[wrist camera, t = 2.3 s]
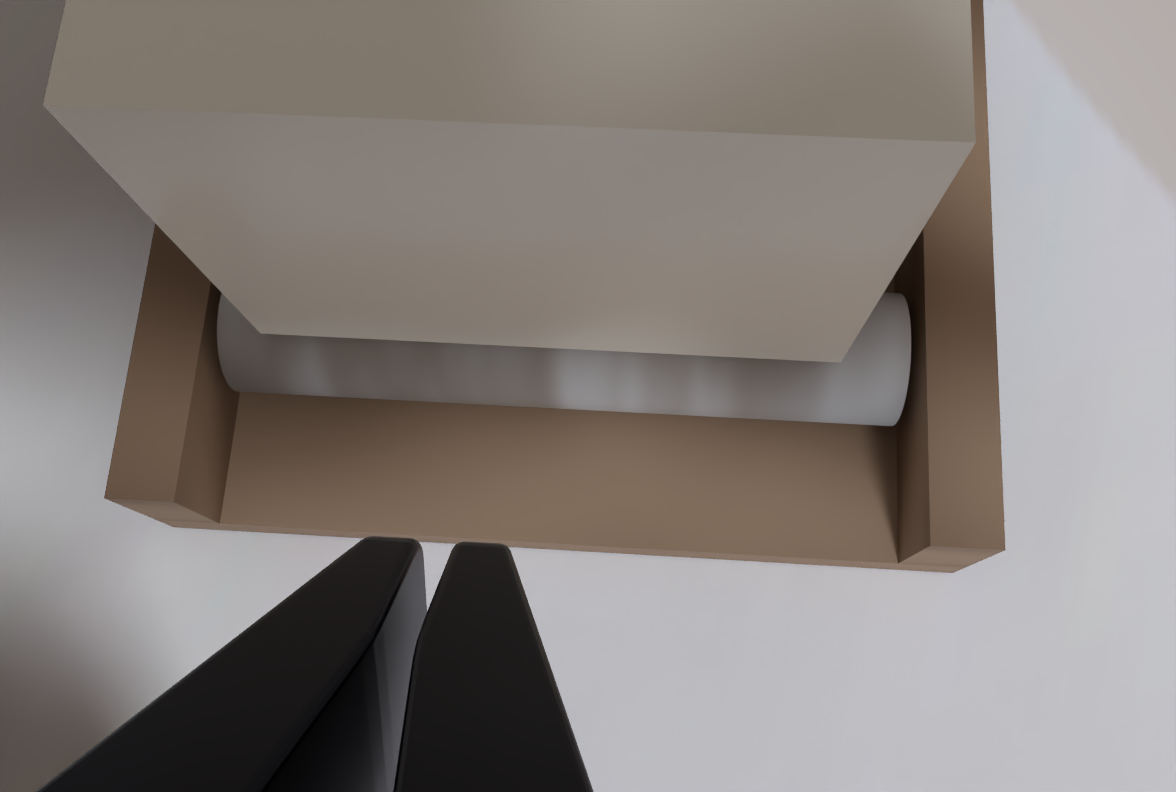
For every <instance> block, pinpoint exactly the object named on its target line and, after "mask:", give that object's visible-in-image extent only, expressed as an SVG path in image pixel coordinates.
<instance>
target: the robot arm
mask: <svg viewBox="0 0 1176 792" xmlns="http://www.w3.org/2000/svg"><path fill="white" fill-rule="evenodd" d="M36 792H593V789H592V786H591V783H590V780H589V777H588V774H587V771H586V769H585V766H584V763H583V760H582V757H581V754H580V751H579V748H578V745H577V742H576V739H575V737H574V734H573V731H572V728H571V725H570V722H569V719H568V716H567V713H566V710H565V708H564V705H563V702H562V699H561V696H560V693H559V690H558V687H557V684H556V681H555V679H554V676H553V673H552V670H551V667H550V664H549V661H548V658H547V655H546V652H545V649H544V647H543V644H542V641H541V638H540V635H539V632H538V629H537V626H536V623H535V620H534V618H533V615H532V612H531V609H530V606H529V603H528V600H527V597H526V594H525V591H524V589H523V586H522V583H521V580H520V577H519V574H518V571H517V568H516V565H515V562H514V559H513V557H512V554H511V551H510V549H509V548H508V547H507V546H506V545H504V544H501V543H484V542H466V541H464V542H460V543H458V544H456V545H455V546H454V548H453V549H452V551H451V554H450V556H449V559H448V561H447V564H446V566H445V569H444V571H443V574H442V576H441V579H440V581H439V584H438V586H437V589H436V591H435V594H434V596H433V599H432V601H431V604H430V606H429V609H428V611H427V605H426V589H425V573H424V558H423V551H422V547H421V545H420V544H419V542H418V541H417V540H415V539H412V538H399V537H383V536H369V537H367V538H365V539H363V540H361V541H360V542H358V543H357V544H356V545H355V546H353V547H352V548H351V549H349V550H348V551H347V552H345V553H344V554H343V555H342V556H340V557H339V558H338V559H336V560H335V561H334V562H333V563H331V564H330V565H329V566H327V567H326V568H325V569H323V570H322V571H321V572H320V573H318V574H317V575H316V576H314V577H313V578H312V579H311V580H309V581H308V582H307V583H305V584H304V585H303V586H301V587H300V588H299V589H298V590H296V591H295V592H294V593H292V594H291V595H290V596H289V597H287V598H286V599H285V600H283V601H282V602H281V603H279V604H278V605H277V606H276V607H274V608H273V609H272V610H270V611H269V612H268V613H267V614H265V615H264V616H263V617H261V618H260V619H259V620H257V621H256V622H255V623H254V624H252V625H251V626H250V627H248V628H247V629H246V630H245V631H243V632H242V633H241V634H239V635H238V636H237V637H235V638H234V639H233V640H232V641H230V642H229V643H228V644H226V645H225V646H224V647H223V648H221V649H220V650H219V651H217V652H216V653H215V654H213V655H212V656H211V657H210V658H208V659H207V660H206V661H204V662H203V663H202V664H201V665H199V666H198V667H197V668H195V669H194V670H193V671H191V672H190V673H189V674H188V675H186V676H185V677H184V678H182V679H181V680H180V681H179V682H177V683H176V684H175V685H173V686H172V687H171V688H169V689H168V690H167V691H166V692H164V693H163V694H162V695H160V696H159V697H158V698H157V699H155V700H154V701H153V702H151V703H150V704H149V705H147V706H146V707H145V708H144V709H142V710H141V711H140V712H138V713H137V714H136V715H135V716H133V717H132V718H131V719H129V720H128V721H127V722H125V723H124V724H123V725H122V726H120V727H119V728H118V729H116V730H115V731H114V732H113V733H111V734H110V735H109V736H107V737H106V738H105V739H103V740H102V741H101V742H100V743H98V744H97V745H96V746H94V747H93V748H92V749H91V750H89V751H88V752H87V753H85V754H84V755H83V756H81V757H80V758H79V759H78V760H76V761H75V762H74V763H72V764H71V765H70V766H69V767H67V768H66V769H65V770H63V771H62V772H61V773H59V774H58V775H57V776H56V777H54V778H53V779H52V780H50V781H49V782H48V783H47V784H45V785H44V786H43V787H41V788H40V789H39V790H37V791H36Z"/></svg>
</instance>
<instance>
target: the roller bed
mask: <svg viewBox="0 0 1176 792" xmlns="http://www.w3.org/2000/svg"><path fill="white" fill-rule="evenodd" d="M970 1H971V28H972V55H973V82H974V109H975V136H976V143H975V145H974V146H973V148H972V150H971V151H970V153H969V154H968V156H967V158H966V159H965V161H964V163H963V164H962V166H961V168H960V169H959V171H958V172H957V174H956V176H955V177H954V179H953V181H952V182H951V184H950V185H949V187H948V189H947V190H946V192H945V194H944V195H943V197H942V198H941V200H940V202H939V203H938V205H937V207H936V208H935V210H934V211H933V213H932V215H931V216H930V218H929V220H928V221H927V223H926V225H925V226H924V228H923V229H922V231H921V233H920V234H919V236H918V238H917V239H916V241H915V242H914V244H913V246H912V247H911V249H910V251H909V252H908V254H907V255H906V257H905V259H904V260H903V262H902V264H901V265H900V267H899V268H898V270H897V272H896V273H895V275H894V277H893V278H892V280H891V281H890V283H889V285H888V286H887V288H886V290H885V291H884V293H883V295H882V296H881V298H880V299H879V301H878V303H877V304H876V306H875V308H874V309H873V311H872V312H871V314H870V316H869V317H868V319H867V321H866V322H865V324H864V325H863V327H862V329H861V330H860V332H859V334H858V335H857V337H856V338H855V340H854V342H853V343H852V345H851V347H850V348H849V350H848V351H847V353H846V355H845V356H844V358H843V360H842V361H841V363H838V362H818V361H798V360H778V359H758V358H738V357H718V356H699V355H679V354H659V353H639V352H619V351H599V350H579V349H559V348H539V347H519V346H499V345H479V344H459V343H439V342H419V341H399V340H379V339H359V338H339V337H319V336H300V335H280V334H261V333H260V332H259V331H258V330H257V329H256V328H255V327H254V326H253V325H252V324H251V323H250V322H249V321H248V320H247V319H246V318H245V317H244V316H243V315H242V313H241V312H240V311H239V310H238V309H237V308H236V307H235V306H234V305H233V304H232V303H231V302H230V301H229V300H228V299H227V298H226V297H225V296H224V295H223V294H222V293H221V291H220V290H219V289H218V288H217V287H216V286H215V285H214V284H213V283H212V282H211V281H210V280H209V279H208V278H207V277H206V276H205V275H204V274H203V273H202V272H201V271H200V269H199V268H198V267H197V266H196V265H195V264H194V263H193V262H192V261H191V260H190V259H189V258H188V257H187V256H186V255H185V254H184V253H183V252H182V251H181V250H180V249H179V247H178V246H177V245H176V244H175V243H174V242H173V241H172V240H171V239H170V238H169V237H168V236H167V235H166V234H165V233H164V232H163V231H162V230H161V229H160V228H159V227H158V225H157V224H156V223H155V228H154V234H153V239H152V244H151V250H150V255H149V260H148V266H147V271H146V277H145V282H144V287H143V293H142V298H141V303H140V309H139V314H138V319H137V325H136V330H135V336H134V341H133V346H132V352H131V357H130V362H129V368H128V373H127V379H126V384H125V389H124V395H123V400H122V405H121V411H120V416H119V421H118V427H117V432H116V438H115V443H114V448H113V454H112V459H111V464H110V470H109V475H108V481H107V486H106V491H105V497H104V498H105V499H108V500H110V501H112V502H115V503H117V504H120V505H122V506H124V507H127V508H129V509H132V510H134V511H136V512H139V513H141V514H144V515H146V516H148V517H151V518H153V519H156V520H158V521H160V522H163V523H165V524H168V525H170V526H173V527H182V528H199V529H216V530H233V531H250V532H267V533H284V534H301V535H318V536H335V537H352V538H367V537H369V536H383V537H399V538H412V539H415V540H417V541H420V542H437V543H454V544H458V543H460V542H464V541H466V542H484V543H501V544H504V545H506V546H507V547H522V548H539V549H556V550H573V551H590V552H607V553H624V554H641V555H658V556H675V557H692V558H709V559H726V560H743V561H760V562H777V563H794V564H811V565H828V566H845V567H862V568H879V569H896V570H913V571H930V572H947V573H953V572H956V571H958V570H960V569H963V568H965V567H967V566H970V565H972V564H974V563H977V562H979V561H981V560H983V559H986V558H988V557H990V556H993V555H995V554H997V553H1000V552H1002V551H1004V550H1005V532H1004V508H1003V483H1002V459H1001V434H1000V409H999V385H998V360H997V335H996V311H995V286H994V261H993V237H992V212H991V188H990V163H989V138H988V114H987V89H986V64H985V40H984V15H983V0H970Z"/></svg>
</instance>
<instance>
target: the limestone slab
mask: <svg viewBox="0 0 1176 792" xmlns="http://www.w3.org/2000/svg"><path fill="white" fill-rule="evenodd" d="M43 106H44V107H45V108H46V109H47V110H48V111H49V112H50V113H51V114H52V115H53V116H54V118H55V119H56V120H57V121H58V122H59V123H60V124H61V125H62V126H63V127H64V128H65V129H66V130H67V131H68V132H69V133H70V134H71V135H72V136H73V137H74V139H75V140H76V141H77V142H78V143H79V144H80V145H81V146H82V147H83V148H84V149H85V150H86V151H87V152H88V153H89V154H90V155H91V156H92V157H93V158H94V159H95V161H96V162H97V163H98V164H99V165H100V166H101V167H102V168H103V169H104V170H105V171H106V172H107V173H108V174H109V175H110V176H111V177H112V178H113V179H114V180H115V181H116V183H117V184H118V185H119V186H120V187H121V188H122V189H123V190H124V191H125V192H126V193H127V194H128V195H129V196H130V197H131V198H132V199H133V200H134V201H135V202H136V203H137V205H138V206H139V207H140V208H141V209H142V210H143V211H144V212H145V213H146V214H147V215H148V216H149V217H150V218H151V219H152V220H153V221H154V222H155V223H156V224H157V225H158V227H159V228H160V229H161V230H162V231H163V232H164V233H165V234H166V235H167V236H168V237H169V238H170V239H171V240H172V241H173V242H174V243H175V244H176V245H177V246H178V247H179V249H180V250H181V251H182V252H183V253H184V254H185V255H186V256H187V257H188V258H189V259H190V260H191V261H192V262H193V263H194V264H195V265H196V266H197V267H198V268H199V269H200V271H201V272H202V273H203V274H204V275H205V276H206V277H207V278H208V279H209V280H210V281H211V282H212V283H213V284H214V285H215V286H216V287H217V288H218V289H219V290H220V291H221V293H222V294H223V295H224V296H225V297H226V298H227V299H228V300H229V301H230V302H231V303H232V304H233V305H234V306H235V307H236V308H237V309H238V310H239V311H240V312H241V313H242V315H243V316H244V317H245V318H246V319H247V320H248V321H249V322H250V323H251V324H252V325H253V326H254V327H255V328H256V329H257V330H258V331H259V332H260V333H261V334H280V335H300V336H319V337H339V338H359V339H379V340H399V341H419V342H439V343H459V344H479V345H499V346H519V347H539V348H559V349H579V350H599V351H619V352H639V353H659V354H679V355H699V356H718V357H738V358H758V359H778V360H798V361H818V362H838V363H841V361H842V360H843V358H844V356H845V355H846V353H847V351H848V350H849V348H850V347H851V345H852V343H853V342H854V340H855V338H856V337H857V335H858V334H859V332H860V330H861V329H862V327H863V325H864V324H865V322H866V321H867V319H868V317H869V316H870V314H871V312H872V311H873V309H874V308H875V306H876V304H877V303H878V301H879V299H880V298H881V296H882V295H883V293H884V291H885V290H886V288H887V286H888V285H889V283H890V281H891V280H892V278H893V277H894V275H895V273H896V272H897V270H898V268H899V267H900V265H901V264H902V262H903V260H904V259H905V257H906V255H907V254H908V252H909V251H910V249H911V247H912V246H913V244H914V242H915V241H916V239H917V238H918V236H919V234H920V233H921V231H922V229H923V228H924V226H925V225H926V223H927V221H928V220H929V218H930V216H931V215H932V213H933V211H934V210H935V208H936V207H937V205H938V203H939V202H940V200H941V198H942V197H943V195H944V194H945V192H946V190H947V189H948V187H949V185H950V184H951V182H952V181H953V179H954V177H955V176H956V174H957V172H958V171H959V169H960V168H961V166H962V164H963V163H964V161H965V159H966V158H967V156H968V154H969V153H970V151H971V150H972V148H973V146H974V145H975V143H976V136H975V109H974V82H973V55H972V28H971V1H970V0H66V2H65V7H64V11H63V16H62V20H61V25H60V29H59V33H58V38H57V42H56V47H55V51H54V56H53V60H52V65H51V69H50V74H49V78H48V83H47V87H46V91H45V96H44V100H43Z"/></svg>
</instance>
